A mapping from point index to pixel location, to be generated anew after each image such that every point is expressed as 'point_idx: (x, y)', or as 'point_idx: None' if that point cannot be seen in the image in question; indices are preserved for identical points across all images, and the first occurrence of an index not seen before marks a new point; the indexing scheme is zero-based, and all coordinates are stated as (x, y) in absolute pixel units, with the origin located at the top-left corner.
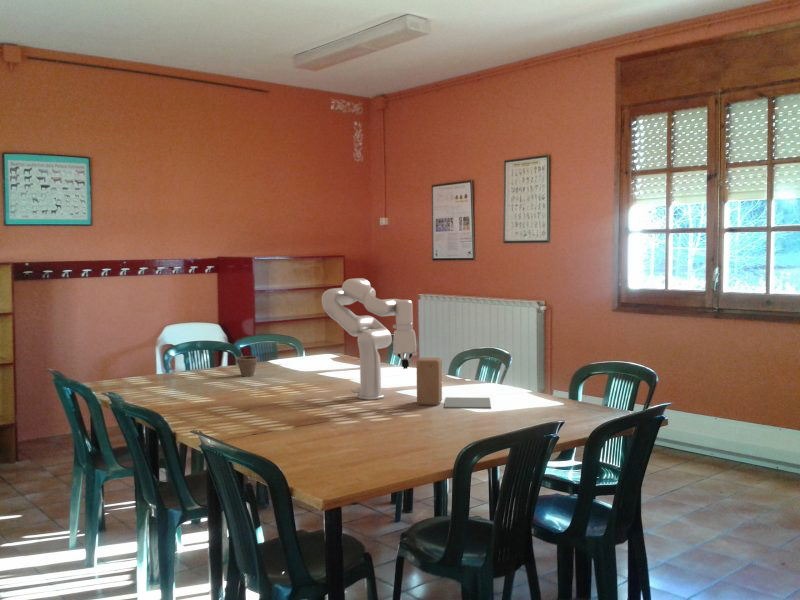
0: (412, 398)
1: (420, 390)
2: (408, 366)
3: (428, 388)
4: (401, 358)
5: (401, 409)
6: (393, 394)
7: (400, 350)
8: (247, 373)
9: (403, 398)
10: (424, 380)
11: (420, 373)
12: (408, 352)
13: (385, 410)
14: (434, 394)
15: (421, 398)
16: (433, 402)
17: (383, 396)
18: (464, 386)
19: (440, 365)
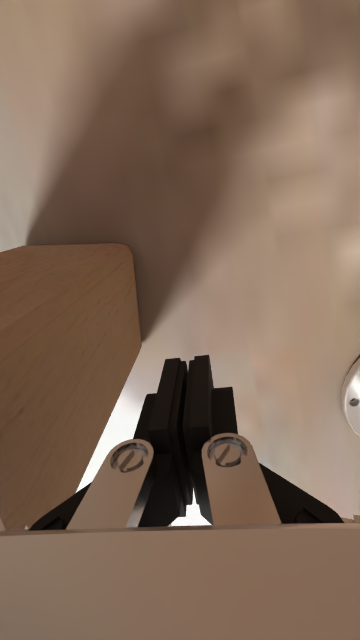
0: None
1: (82, 257)
2: (149, 395)
3: (20, 261)
4: (244, 459)
5: (190, 94)
6: (300, 456)
7: (290, 623)
8: None
9: (237, 383)
10: (14, 275)
11: (11, 292)
12: (22, 538)
13: (290, 30)
14: (4, 254)
15: (95, 248)
16: (37, 246)
17: (345, 386)
18: None
19: None
